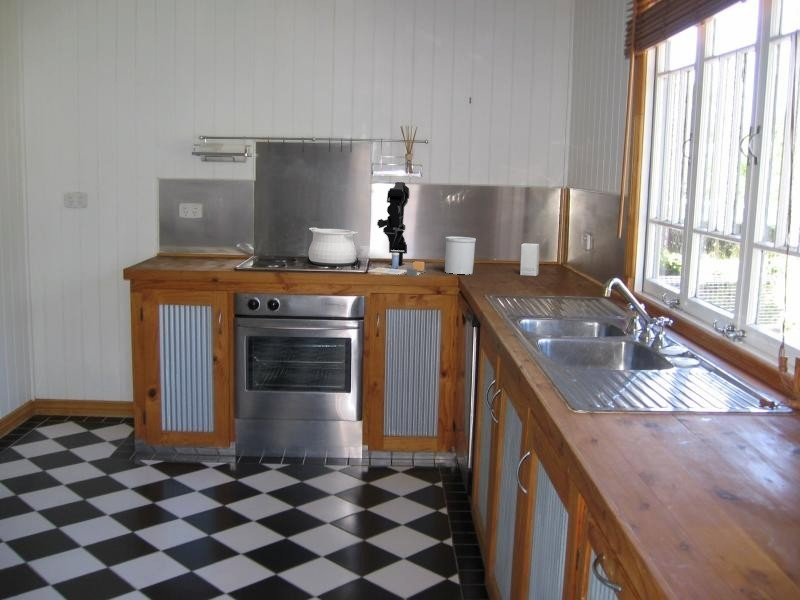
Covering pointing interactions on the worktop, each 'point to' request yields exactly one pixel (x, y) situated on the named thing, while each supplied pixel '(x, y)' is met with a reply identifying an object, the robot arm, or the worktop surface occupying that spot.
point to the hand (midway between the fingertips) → (393, 245)
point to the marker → (395, 260)
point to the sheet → (388, 271)
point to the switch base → (414, 272)
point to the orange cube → (418, 265)
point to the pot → (332, 247)
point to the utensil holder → (459, 255)
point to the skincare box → (529, 259)
